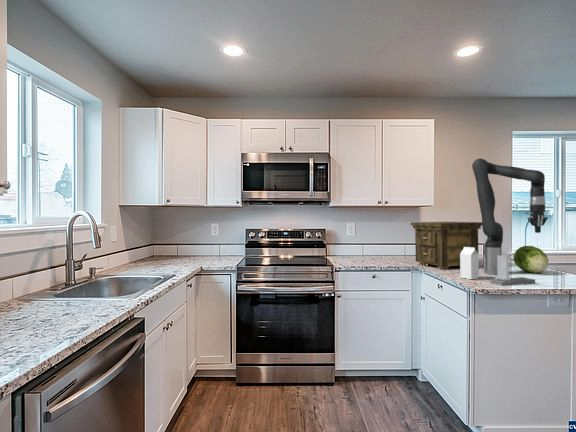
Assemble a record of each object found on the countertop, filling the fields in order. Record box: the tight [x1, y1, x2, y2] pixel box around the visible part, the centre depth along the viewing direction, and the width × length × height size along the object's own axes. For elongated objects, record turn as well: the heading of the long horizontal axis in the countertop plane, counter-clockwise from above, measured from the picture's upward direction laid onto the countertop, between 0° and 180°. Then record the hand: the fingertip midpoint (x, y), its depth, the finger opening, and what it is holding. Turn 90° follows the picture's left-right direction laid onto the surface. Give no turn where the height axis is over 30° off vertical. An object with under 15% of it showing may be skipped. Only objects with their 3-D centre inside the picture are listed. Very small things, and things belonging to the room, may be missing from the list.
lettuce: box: [513, 245, 549, 274], centre depth 222 cm, size 17×23×17 cm
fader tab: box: [495, 255, 512, 281], centre depth 189 cm, size 4×6×13 cm, turn 13°
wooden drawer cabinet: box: [410, 221, 482, 270], centre depth 254 cm, size 35×35×33 cm
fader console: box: [489, 276, 536, 287], centre depth 191 cm, size 22×8×2 cm, turn 103°
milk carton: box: [459, 247, 480, 280], centre depth 205 cm, size 7×7×19 cm
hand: (537, 232), depth 206 cm, fingers closed
